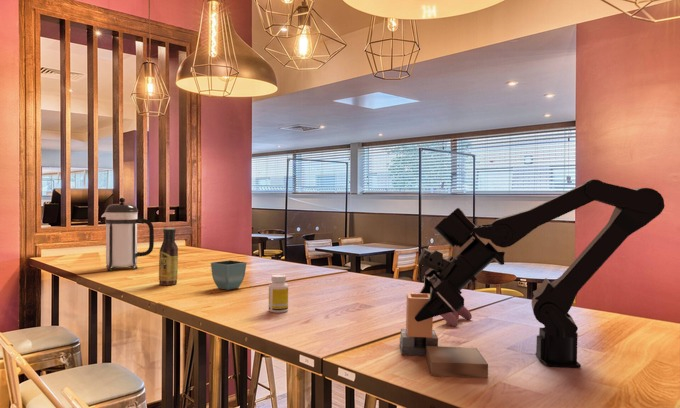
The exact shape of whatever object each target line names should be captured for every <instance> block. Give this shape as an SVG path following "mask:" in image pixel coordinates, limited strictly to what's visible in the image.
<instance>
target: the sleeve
mask: <svg viewBox="0 0 680 408" xmlns="http://www.w3.org/2000/svg"><path fill="white" fill-rule="evenodd" d="M429 298H430V294H424V293H420V292H419V293H417V292H413V293H412V292H406V309H405V311H406V315H405V316H406V318H405V321H406V322H405V325H406V326H405V329H406V331H407V335H408V337H432V330H434V329H433V326H434V325H433V324H434V321H433V319H434V317H432V318H429V319H426V320H423V321H420V322H417V321H416V320H415V318H414V317H415V316H416V315H417V313H418V312H419V311H420V309H421V308H422V307H423V306H424V304H425V303H426V302H427V301H428V299H429Z"/></svg>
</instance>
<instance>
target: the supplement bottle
mask: <svg viewBox="0 0 680 408" xmlns="http://www.w3.org/2000/svg"><path fill="white" fill-rule="evenodd" d="M286 280H287V275H285V274H274V275H271V283H269V284H268V311H269V312H270V313H275V314H276V313H277V314H278V313H279V314H280V313H286V312H287V311H288V310H289V284H288V283H286Z"/></svg>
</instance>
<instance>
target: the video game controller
mask: <svg viewBox="0 0 680 408" xmlns="http://www.w3.org/2000/svg"><path fill="white" fill-rule="evenodd" d="M452 309H453V310H454V312H449V313H446V314H442V315H439V316H440V317H442V319H444V321H445V322H446V324H449V325H450V326H451V327H457V326H458V325H459V321H458V320H459V318H460V316H461V318H463V319H465V320H468V321H469V320H471V319H472V318H473V317H472V316H473V315H472V313H471V311H470V310H469V309H468V308H467V307H465V305H464V306H463V307H462V308H461V309H460V310H459V311H456V310H455V309H454V308H453V307H452Z"/></svg>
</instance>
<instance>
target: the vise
mask: <svg viewBox="0 0 680 408" xmlns="http://www.w3.org/2000/svg"><path fill="white" fill-rule="evenodd" d="M426 346H439V337H438V335H437V333H436V331H435V329H432V337H408V335H407V331H406V328H400V337H399V348H400V353H401V356H419V357H420V356H423V357H424V356H425V357H426Z"/></svg>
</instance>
